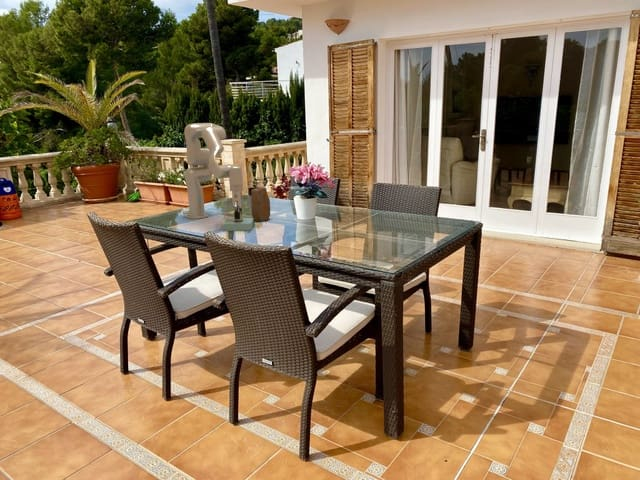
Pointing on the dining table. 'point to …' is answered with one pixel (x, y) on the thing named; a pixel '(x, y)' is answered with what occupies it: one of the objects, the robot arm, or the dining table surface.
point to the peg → (239, 219)
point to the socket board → (238, 224)
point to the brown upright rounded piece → (260, 204)
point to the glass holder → (250, 197)
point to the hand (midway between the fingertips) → (238, 217)
